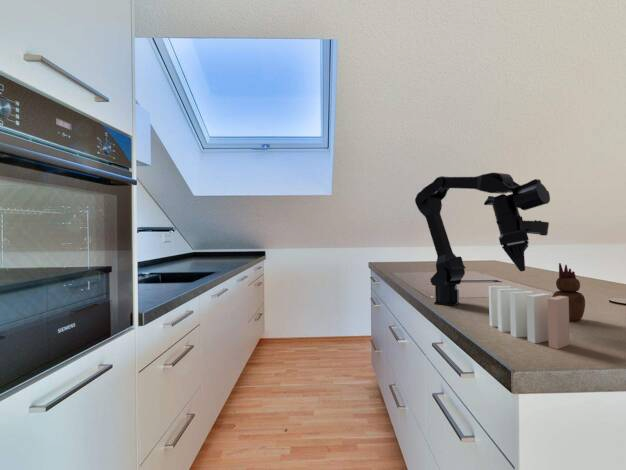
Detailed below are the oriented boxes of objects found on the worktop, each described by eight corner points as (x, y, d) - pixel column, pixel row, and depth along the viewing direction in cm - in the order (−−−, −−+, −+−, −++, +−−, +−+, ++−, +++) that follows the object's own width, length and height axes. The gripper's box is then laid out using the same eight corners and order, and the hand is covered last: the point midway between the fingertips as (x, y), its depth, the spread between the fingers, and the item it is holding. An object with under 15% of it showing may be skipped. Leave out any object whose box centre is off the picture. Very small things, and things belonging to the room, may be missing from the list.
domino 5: (548, 346, 67) (547, 298, 67) (560, 342, 69) (559, 295, 69) (557, 349, 65) (556, 299, 65) (569, 344, 68) (568, 296, 68)
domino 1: (489, 324, 83) (488, 286, 83) (511, 325, 82) (509, 286, 82) (491, 326, 81) (490, 287, 81) (513, 327, 80) (512, 287, 80)
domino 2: (498, 329, 79) (497, 289, 79) (518, 329, 79) (517, 288, 79) (501, 331, 77) (500, 290, 77) (523, 331, 77) (522, 289, 77)
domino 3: (510, 335, 74) (509, 292, 74) (529, 333, 75) (528, 290, 75) (516, 337, 73) (515, 293, 73) (535, 335, 74) (534, 292, 74)
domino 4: (527, 341, 70) (526, 295, 70) (543, 338, 72) (542, 293, 72) (534, 343, 69) (533, 296, 69) (551, 340, 71) (550, 294, 70)
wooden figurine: (555, 320, 85) (553, 263, 85) (550, 315, 90) (549, 261, 90) (588, 323, 81) (586, 264, 81) (581, 318, 87) (580, 262, 86)
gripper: (543, 201, 78) (562, 265, 75) (540, 212, 94) (556, 266, 91) (492, 213, 84) (508, 273, 81) (497, 222, 99) (511, 272, 96)
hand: (522, 271), depth 87 cm, fingers open, 9 cm apart
